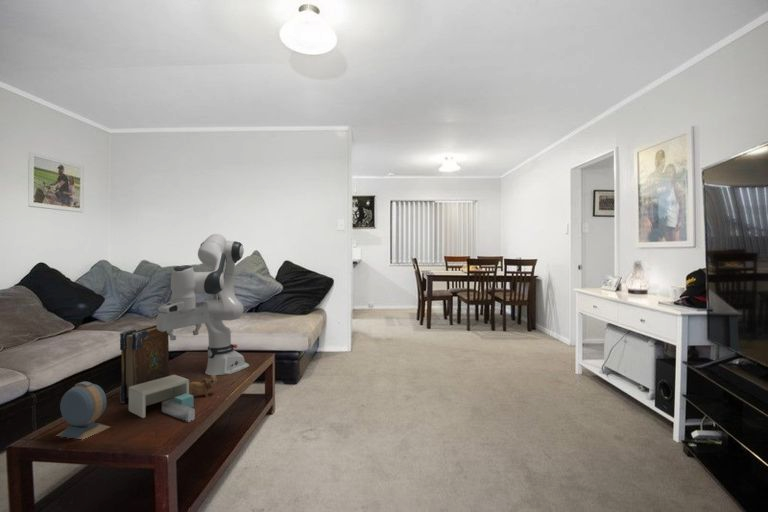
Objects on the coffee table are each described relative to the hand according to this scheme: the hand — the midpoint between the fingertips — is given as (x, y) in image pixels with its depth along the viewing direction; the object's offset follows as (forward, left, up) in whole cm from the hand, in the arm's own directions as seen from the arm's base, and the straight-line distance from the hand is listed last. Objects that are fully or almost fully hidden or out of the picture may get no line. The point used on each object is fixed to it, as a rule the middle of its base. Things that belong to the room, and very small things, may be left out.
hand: (184, 337), depth 149 cm
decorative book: (+1, -30, -29) cm, 42 cm away
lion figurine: (-10, -6, -29) cm, 31 cm away
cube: (+1, +1, -29) cm, 29 cm away
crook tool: (+3, +6, -29) cm, 30 cm away
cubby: (+6, -9, -29) cm, 31 cm away
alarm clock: (+31, -9, -29) cm, 44 cm away
